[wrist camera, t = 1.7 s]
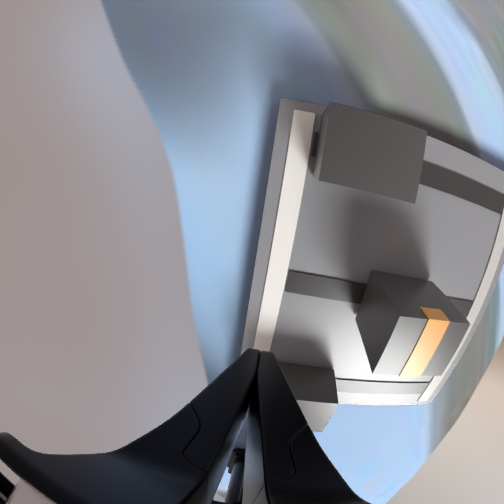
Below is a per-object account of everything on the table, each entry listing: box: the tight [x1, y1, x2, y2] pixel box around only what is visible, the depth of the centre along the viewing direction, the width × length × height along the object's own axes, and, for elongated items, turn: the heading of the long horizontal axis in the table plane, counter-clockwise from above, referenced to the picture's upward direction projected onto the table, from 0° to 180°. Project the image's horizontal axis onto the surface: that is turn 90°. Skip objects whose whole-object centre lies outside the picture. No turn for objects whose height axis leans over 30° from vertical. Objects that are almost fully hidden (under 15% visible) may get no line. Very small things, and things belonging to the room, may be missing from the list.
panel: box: [241, 98, 504, 432], centre depth 13 cm, size 18×16×4 cm
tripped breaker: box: [355, 270, 470, 377], centre depth 12 cm, size 3×4×5 cm
